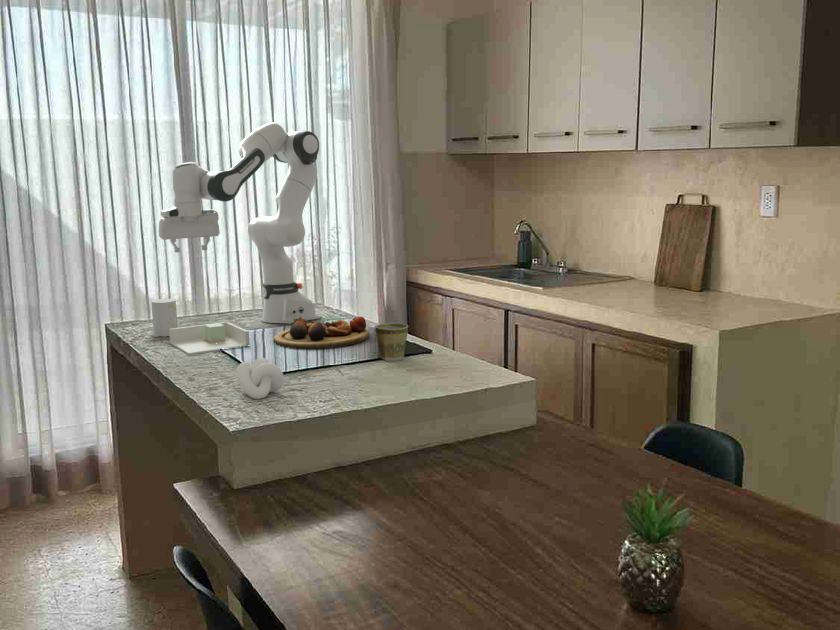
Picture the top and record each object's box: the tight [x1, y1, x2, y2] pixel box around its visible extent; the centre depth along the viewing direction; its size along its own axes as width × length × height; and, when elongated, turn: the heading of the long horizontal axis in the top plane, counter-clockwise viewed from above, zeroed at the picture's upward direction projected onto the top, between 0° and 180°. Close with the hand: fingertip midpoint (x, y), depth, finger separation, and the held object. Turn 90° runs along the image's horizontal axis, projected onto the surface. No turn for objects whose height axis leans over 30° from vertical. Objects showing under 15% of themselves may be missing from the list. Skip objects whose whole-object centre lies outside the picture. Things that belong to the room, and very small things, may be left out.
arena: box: [169, 321, 251, 356], centre depth 270 cm, size 20×20×5 cm
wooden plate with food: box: [272, 315, 370, 350], centre depth 276 cm, size 32×32×8 cm
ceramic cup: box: [374, 322, 409, 362], centre depth 248 cm, size 13×10×10 cm
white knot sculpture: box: [236, 357, 285, 400], centre depth 210 cm, size 11×12×9 cm
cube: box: [204, 322, 225, 342], centre depth 274 cm, size 5×5×5 cm
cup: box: [150, 298, 179, 337], centre depth 287 cm, size 8×8×12 cm
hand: (191, 251), depth 282 cm, fingers open, 8 cm apart
